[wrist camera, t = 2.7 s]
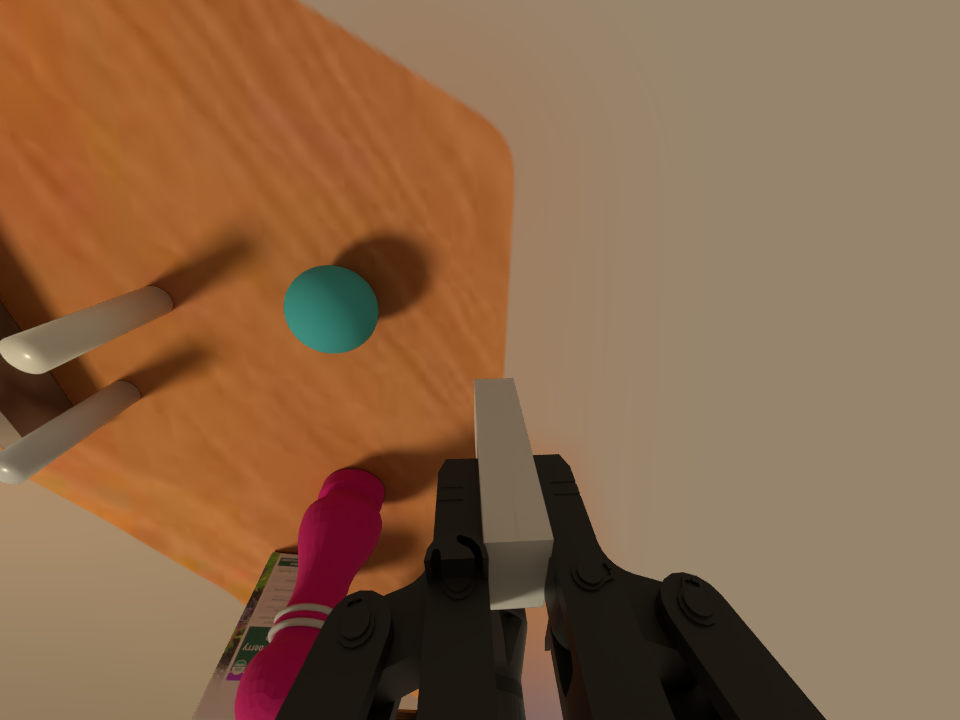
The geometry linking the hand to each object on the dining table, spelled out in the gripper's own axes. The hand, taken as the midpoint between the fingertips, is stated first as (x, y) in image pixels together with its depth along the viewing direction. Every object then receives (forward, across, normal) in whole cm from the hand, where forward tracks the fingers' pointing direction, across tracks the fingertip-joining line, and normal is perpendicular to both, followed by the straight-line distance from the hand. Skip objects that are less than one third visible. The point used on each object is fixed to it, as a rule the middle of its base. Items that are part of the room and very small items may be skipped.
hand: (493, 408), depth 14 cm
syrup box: (+15, +22, +34) cm, 44 cm away
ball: (+12, +10, 0) cm, 16 cm away
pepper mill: (+15, +13, +21) cm, 29 cm away
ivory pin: (+15, +24, 0) cm, 28 cm away
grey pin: (+15, +30, +8) cm, 35 cm away
